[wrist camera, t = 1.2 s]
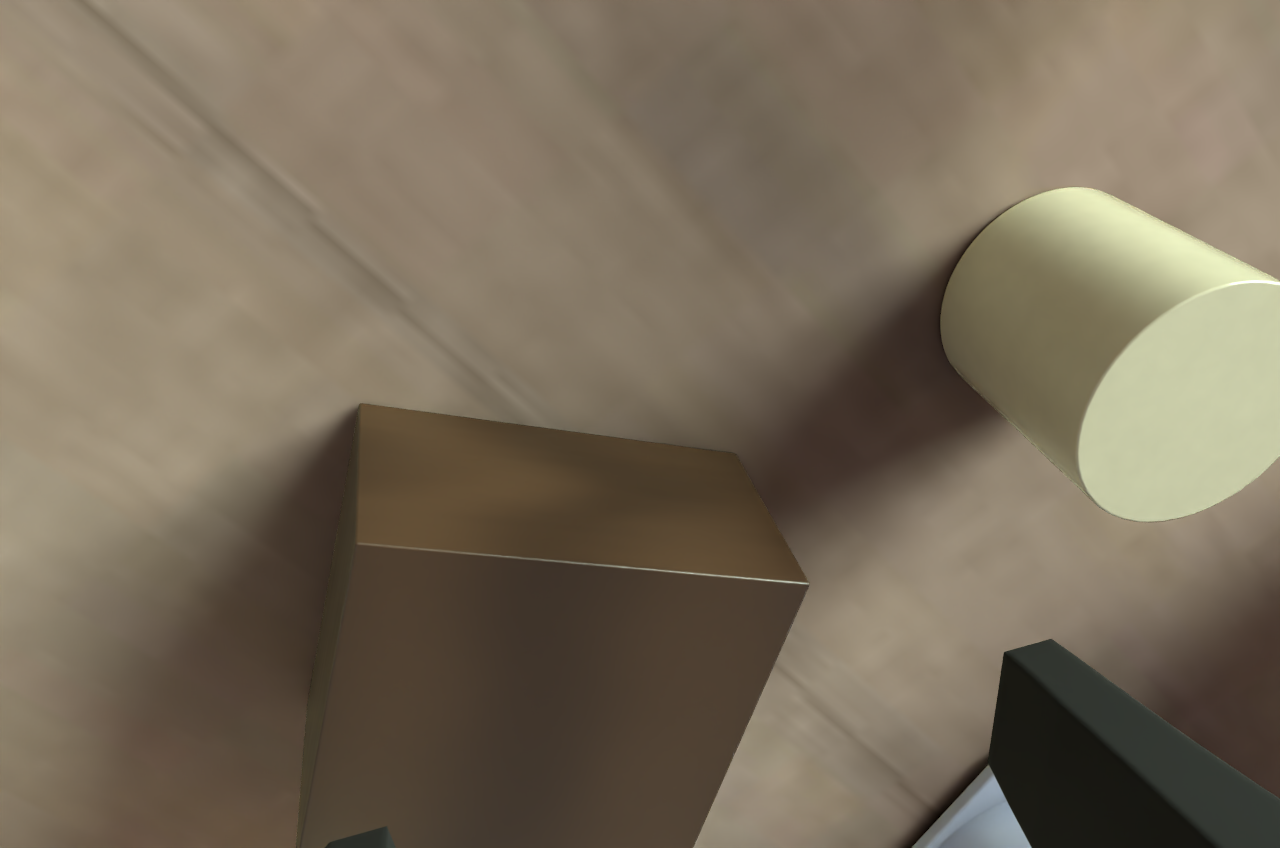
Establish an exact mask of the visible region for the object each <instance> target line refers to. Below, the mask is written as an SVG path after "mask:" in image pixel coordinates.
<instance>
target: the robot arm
mask: <svg viewBox="0 0 1280 848" xmlns="http://www.w3.org/2000/svg"><path fill="white" fill-rule="evenodd" d="M988 764H989V765H988V766H987V767H986V768H985V769H984V770H983V771H982V772H981V773H980V774H979V775H978V776H977V777H976V779H975V780H974V781H973V782H972V783H971V784H970V785H969V786H968V787H967V788H966V789H965V790H964V792H963V793H962V794H961V795H960V796H959V797H958V798H957V799H956V800H955V801H954V802H953V803H952V804H951V806H950V807H949V808H948V809H947V810H946V811H945V812H944V813H943V814H942V815H941V816H940V817H939V818H938V820H937V821H936V822H935V823H934V824H933V825H932V826H931V827H930V828H929V829H928V830H927V831H926V833H925V834H924V835H923V836H922V837H921V838H920V839H919V840H918V841H917V842H916V843H915V844H914V845H913V847H912V848H1280V798H1278V797H1277V796H1275V795H1273V794H1272V793H1270V792H1269V791H1267V790H1266V789H1264V788H1263V787H1261V786H1260V785H1258V784H1257V783H1255V782H1254V781H1252V780H1251V779H1249V778H1248V777H1246V776H1245V775H1243V774H1242V773H1240V772H1239V771H1237V770H1236V769H1234V768H1233V767H1232V766H1230V765H1229V764H1227V763H1226V762H1224V761H1223V760H1221V759H1220V758H1218V757H1217V756H1215V755H1214V754H1212V753H1211V752H1209V751H1208V750H1206V749H1205V748H1204V747H1202V746H1201V745H1199V744H1198V743H1196V742H1195V741H1193V740H1192V739H1191V738H1189V737H1188V736H1186V735H1185V734H1183V733H1182V732H1181V731H1179V730H1178V729H1176V728H1175V727H1173V726H1172V725H1171V724H1169V723H1168V722H1166V721H1165V720H1164V719H1162V718H1161V717H1159V716H1158V715H1157V714H1155V713H1154V712H1152V711H1151V710H1150V709H1148V708H1147V707H1145V706H1144V705H1143V704H1141V703H1140V702H1138V701H1137V700H1136V699H1134V698H1133V697H1131V696H1130V695H1129V694H1127V693H1126V692H1125V691H1123V690H1122V689H1120V688H1119V687H1118V686H1116V685H1115V684H1114V683H1112V682H1111V681H1109V680H1108V679H1107V678H1105V677H1104V676H1103V675H1101V674H1100V673H1098V672H1097V671H1096V670H1094V669H1093V668H1091V667H1090V666H1089V665H1087V664H1086V663H1085V662H1083V661H1082V660H1080V659H1079V658H1078V657H1076V656H1075V655H1074V654H1072V653H1071V652H1069V651H1068V650H1067V649H1065V648H1064V647H1062V646H1061V645H1059V644H1058V643H1057V642H1055V641H1054V640H1052V639H1049V640H1046V641H1042V642H1039V643H1035V644H1031V645H1028V646H1024V647H1021V648H1017V649H1014V650H1010V651H1007V652H1004V656H1003V663H1002V669H1001V676H1000V683H999V690H998V696H997V703H996V710H995V717H994V723H993V730H992V737H991V744H990V750H989V757H988ZM325 848H396V847H395V844H394V842H393V839H392V837H391V835H390V832H389V830H388V827H387V826H385V827H381V828H378V829H374V830H371V831H367V832H364V833H360V834H357V835H353V836H350V837H346V838H342V839H339V840H335V841H332V842H329V843H328V844H327V846H326V847H325Z"/></svg>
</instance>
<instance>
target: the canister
mask: <svg viewBox="0 0 1280 848" xmlns="http://www.w3.org/2000/svg"><path fill="white" fill-rule="evenodd" d="M940 331H941V337H942V344H943V347H944V350H945V353H946V356H947V358H948V360H949V362H950V363H951V365H952V367H953V368H954V369H955V371H956V372H957V373H958V374H959V375H960V376H961V377H962V378H963V379H964V380H965V381H966V382H967V383H968V384H969V385H970V386H971V387H972V388H974V389H975V390H976V391H977V392H978V393H979V394H980V395H981V396H982V397H983V398H984V399H985V400H986V401H987V402H988V403H989V404H990V405H991V406H992V407H994V408H995V409H996V410H997V411H998V412H999V413H1000V414H1001V415H1002V416H1003V417H1004V418H1005V419H1006V420H1007V421H1008V422H1009V423H1010V424H1011V425H1013V426H1014V427H1015V428H1016V429H1017V430H1018V431H1019V432H1020V433H1021V434H1022V435H1023V436H1024V437H1025V438H1026V439H1027V440H1028V441H1029V442H1030V443H1031V444H1033V445H1034V446H1035V447H1036V448H1037V449H1038V450H1039V451H1040V452H1041V453H1042V454H1043V455H1044V456H1045V457H1046V458H1047V459H1048V460H1049V461H1050V462H1052V463H1053V464H1054V465H1055V466H1056V467H1057V468H1058V469H1059V470H1060V471H1061V472H1062V473H1063V474H1064V475H1065V476H1066V477H1067V478H1068V479H1069V480H1070V481H1072V482H1073V483H1074V484H1075V485H1076V486H1077V487H1078V488H1079V489H1080V490H1081V491H1082V492H1083V493H1084V494H1085V495H1086V496H1087V497H1088V498H1089V499H1091V500H1092V501H1093V502H1094V503H1095V504H1096V505H1097V506H1098V507H1099V508H1101V509H1102V510H1104V511H1106V512H1107V513H1109V514H1111V515H1114V516H1116V517H1119V518H1121V519H1126V520H1131V521H1135V522H1161V521H1168V520H1173V519H1179V518H1182V517H1185V516H1189V515H1192V514H1195V513H1198V512H1200V511H1203V510H1205V509H1208V508H1210V507H1212V506H1214V505H1216V504H1218V503H1220V502H1222V501H1224V500H1225V499H1227V498H1229V497H1230V496H1232V495H1234V494H1235V493H1237V492H1239V491H1240V490H1241V489H1243V488H1244V487H1246V486H1247V485H1248V484H1250V483H1251V482H1252V481H1254V480H1255V479H1256V478H1257V477H1258V476H1260V475H1261V474H1262V473H1263V472H1264V471H1265V470H1267V469H1268V468H1269V467H1270V466H1271V465H1272V464H1273V463H1274V462H1275V461H1276V460H1277V459H1278V458H1279V457H1280V280H1278V279H1276V278H1274V277H1272V276H1270V275H1268V274H1266V273H1264V272H1262V271H1260V270H1258V269H1256V268H1254V267H1252V266H1250V265H1248V264H1246V263H1244V262H1242V261H1241V260H1239V259H1237V258H1235V257H1233V256H1231V255H1229V254H1227V253H1225V252H1223V251H1221V250H1219V249H1217V248H1215V247H1213V246H1211V245H1209V244H1207V243H1205V242H1203V241H1201V240H1199V239H1197V238H1195V237H1193V236H1191V235H1189V234H1187V233H1185V232H1183V231H1181V230H1179V229H1177V228H1175V227H1173V226H1171V225H1170V224H1168V223H1166V222H1164V221H1162V220H1160V219H1158V218H1156V217H1154V216H1152V215H1150V214H1148V213H1146V212H1144V211H1142V210H1140V209H1138V208H1136V207H1134V206H1132V205H1130V204H1128V203H1126V202H1124V201H1122V200H1120V199H1118V198H1116V197H1114V196H1112V195H1110V194H1108V193H1105V192H1102V191H1100V190H1096V189H1090V188H1081V187H1070V188H1062V189H1055V190H1051V191H1048V192H1044V193H1041V194H1038V195H1036V196H1033V197H1030V198H1028V199H1026V200H1024V201H1022V202H1020V203H1018V204H1017V205H1015V206H1013V207H1012V208H1010V209H1009V210H1007V211H1006V212H1004V213H1003V214H1001V215H1000V216H999V217H997V218H996V219H995V220H994V221H993V222H991V223H990V224H989V225H988V226H987V227H986V228H985V229H984V230H983V231H982V232H981V233H980V234H979V235H978V236H977V237H976V238H975V240H974V241H973V242H972V243H971V244H970V246H969V247H968V248H967V249H966V251H965V253H964V254H963V256H962V257H961V259H960V260H959V262H958V263H957V265H956V267H955V269H954V271H953V273H952V275H951V277H950V280H949V283H948V285H947V288H946V291H945V294H944V298H943V302H942V308H941V316H940Z"/></svg>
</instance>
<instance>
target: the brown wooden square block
mask: <svg viewBox="0 0 1280 848" xmlns="http://www.w3.org/2000/svg"><path fill="white" fill-rule="evenodd" d="M808 587H809V582H808V580H807V578H806V576H805V575H804V573H803V571H802V569H801V568H800V566H799V564H798V562H797V561H796V559H795V557H794V555H793V554H792V552H791V550H790V548H789V547H788V545H787V543H786V541H785V539H784V538H783V536H782V534H781V532H780V531H779V529H778V527H777V525H776V524H775V522H774V520H773V518H772V517H771V515H770V513H769V511H768V510H767V508H766V506H765V504H764V503H763V501H762V499H761V497H760V496H759V494H758V492H757V490H756V488H755V487H754V485H753V483H752V481H751V480H750V478H749V476H748V474H747V473H746V471H745V469H744V467H743V466H742V464H741V462H740V460H739V459H738V457H737V455H736V454H734V453H727V452H719V451H712V450H704V449H697V448H689V447H682V446H675V445H667V444H660V443H652V442H645V441H637V440H630V439H622V438H615V437H607V436H600V435H593V434H585V433H578V432H570V431H563V430H555V429H548V428H540V427H533V426H525V425H518V424H511V423H503V422H496V421H488V420H481V419H473V418H466V417H458V416H451V415H443V414H436V413H429V412H421V411H414V410H406V409H399V408H391V407H384V406H376V405H369V404H360V405H359V407H358V413H357V419H356V424H355V430H354V436H353V442H352V448H351V453H350V459H349V465H348V471H347V477H346V482H345V488H344V494H343V500H342V506H341V511H340V517H339V523H338V529H337V535H336V540H335V546H334V552H333V558H332V564H331V569H330V575H329V581H328V587H327V593H326V598H325V604H324V610H323V616H322V622H321V627H320V633H319V639H318V645H317V651H316V656H315V662H314V668H313V674H312V680H311V685H310V691H309V697H308V703H307V711H306V724H305V736H304V749H303V762H302V774H301V787H300V799H299V812H298V825H297V837H296V848H325V847H326V846H327V844H328V843H329V842H332V841H335V840H339V839H342V838H346V837H350V836H353V835H357V834H360V833H364V832H367V831H371V830H374V829H378V828H381V827H385V826H387V827H388V830H389V832H390V835H391V837H392V839H393V842H394V844H395V847H396V848H693V847H694V844H695V842H696V840H697V838H698V835H699V833H700V831H701V829H702V826H703V824H704V822H705V820H706V817H707V815H708V813H709V811H710V808H711V806H712V804H713V802H714V799H715V797H716V795H717V793H718V790H719V788H720V786H721V784H722V781H723V779H724V777H725V775H726V772H727V770H728V768H729V766H730V763H731V761H732V759H733V757H734V754H735V752H736V750H737V748H738V745H739V743H740V741H741V738H742V736H743V734H744V732H745V729H746V727H747V725H748V723H749V720H750V718H751V716H752V714H753V711H754V709H755V707H756V705H757V702H758V700H759V698H760V696H761V693H762V691H763V689H764V687H765V684H766V682H767V680H768V678H769V675H770V673H771V671H772V669H773V666H774V664H775V662H776V660H777V657H778V655H779V653H780V651H781V648H782V646H783V644H784V642H785V639H786V637H787V635H788V633H789V630H790V628H791V626H792V624H793V621H794V619H795V617H796V615H797V612H798V610H799V608H800V605H801V603H802V601H803V599H804V596H805V594H806V592H807V590H808Z"/></svg>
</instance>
